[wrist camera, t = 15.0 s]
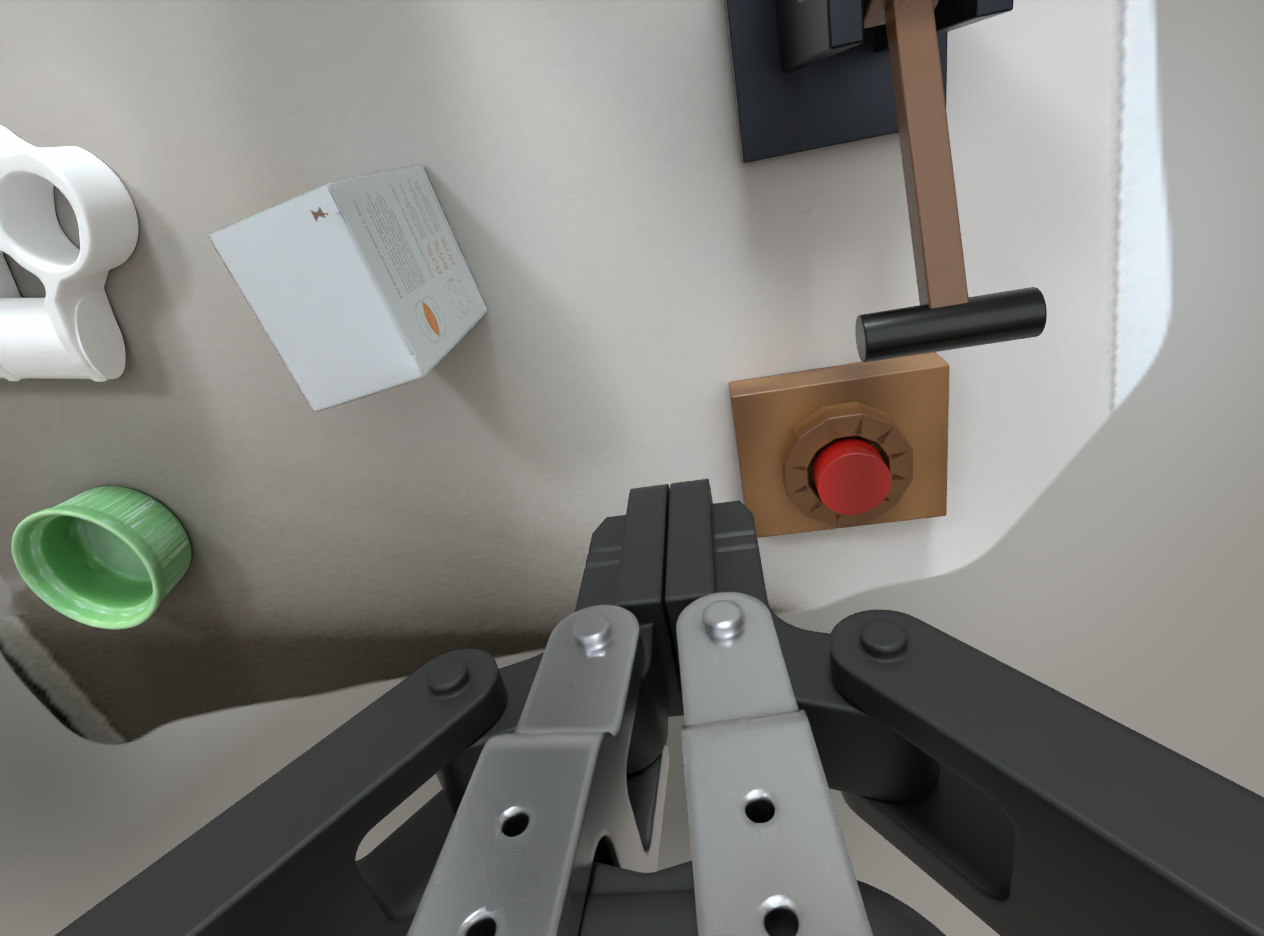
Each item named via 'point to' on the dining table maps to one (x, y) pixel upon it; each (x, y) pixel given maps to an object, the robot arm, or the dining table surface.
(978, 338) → the lever
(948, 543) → the dining table surface
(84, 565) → the ramekin
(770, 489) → the button block
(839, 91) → the bracket
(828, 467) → the button
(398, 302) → the small box
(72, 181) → the white brass knuckles
